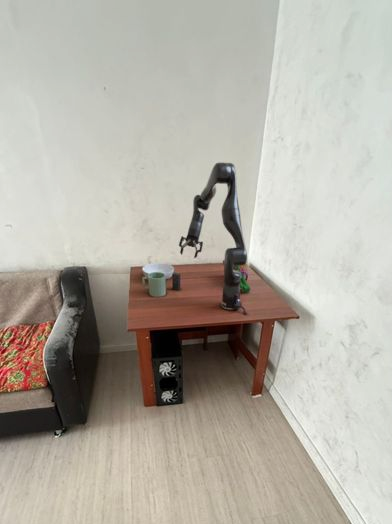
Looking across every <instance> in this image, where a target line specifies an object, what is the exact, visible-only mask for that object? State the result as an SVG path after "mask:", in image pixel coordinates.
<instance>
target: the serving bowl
mask: <svg viewBox="0 0 392 524" xmlns="http://www.w3.org/2000/svg"><path fill="white" fill-rule="evenodd" d="M153 272H161V273H164V274H165V278H166V280H168V279H170V278H171V277H172V274H173V273H175V268H174V266H173V265H170V264H168V263H163V262H162V263H161V262H155V263H153V262H152V263H148V264H146V265H144V266H142V273H143V276H144V277H148V274H150V273H153Z"/></svg>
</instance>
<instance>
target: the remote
mask: <svg viewBox="0 0 392 524" xmlns="http://www.w3.org/2000/svg"><path fill="white" fill-rule="evenodd" d="M171 277H172V278H171V280H172V281H171V282H172V290H176V291H180V290H181V273H177V272H173V274H172V276H171Z"/></svg>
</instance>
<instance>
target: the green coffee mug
mask: <svg viewBox="0 0 392 524" xmlns="http://www.w3.org/2000/svg"><path fill="white" fill-rule="evenodd" d="M145 280H147V282H148V283H147V284H148V286H146V281H145ZM166 281H167V279H166V278H165V274H164V273H161V272H153V273H150V274H148V277H146V276H142V288H143V289H144V290H148V295H149V296H151V297H154V298H160V297H164V296H165V295H166V294H167V282H166Z"/></svg>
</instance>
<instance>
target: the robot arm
mask: <svg viewBox="0 0 392 524" xmlns="http://www.w3.org/2000/svg"><path fill="white" fill-rule="evenodd" d="M217 184H221V185H227V194H226V197H225V199H224V201H223V204H222V206H221V210H220V211H221V219H222V224H223V226H224V229H226V231H227V232H228V233H229V235H230V236H231V237H232V239H233V241H234V245H235V247H228V248H226V250H225V252H224V257H223V260H224V264H223V283H222V284H223V285H222V294H221V295H222V296H221V301H220V302H221V305H220V307H222V309H223V310H227V311H236V310H238V311H239V310H240V309H242V310H243V314H244V315H248V313H247V312H246V308H245V307H244V306H242V305H243V302H242V301H240V299H241V292H242V290H241V288H240V283H241V273H240V272H239V271H236V270H233V266H242V267H243V265H244V266H245V265H247V263H248V252H247V248H246V243H245V237H244V234H243V233H244V232H243V227H242V218H241V211H240V205H239V198H238V188H237V187H238V186H237V185H238V184H237V172H236V167H235V164H233V163H232V162H220V161H219V162H216V163H215V164H214V165H213V166H212V168H211V171H210V174H209V177H208V179H207V182H206V185H205V186H204V188H203V190H202V191H201V192H200V194H196V195H195V196H194V197H193V199H192V210H193V211H192V216H191V220H190V223H189V226H188V230H187V234H186V237H185V236H181V237H180V240H179V242H178V243H179V244H178V246H179V247H180V251H179V253H180V255H181V256H183V253H184V249H185V248H187V247H191V248H194V249H195V252H194V256H193V259H196V258H197V257H198V254H199V253H202V250H203V246H204V241H200V237H201V236H200V235H201V232H202V228H203V223H204V219H205V214H204V213H203V212H202V211H205V212H206V211H208V210H209V209H210V207H211V203H212V200H213V199H214V198H215V196H216V194H217ZM200 210H202V211H200ZM184 241H185V242H184ZM183 242H184V243H183ZM197 245H199V249H198V246H197ZM246 262H247V263H246Z"/></svg>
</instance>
